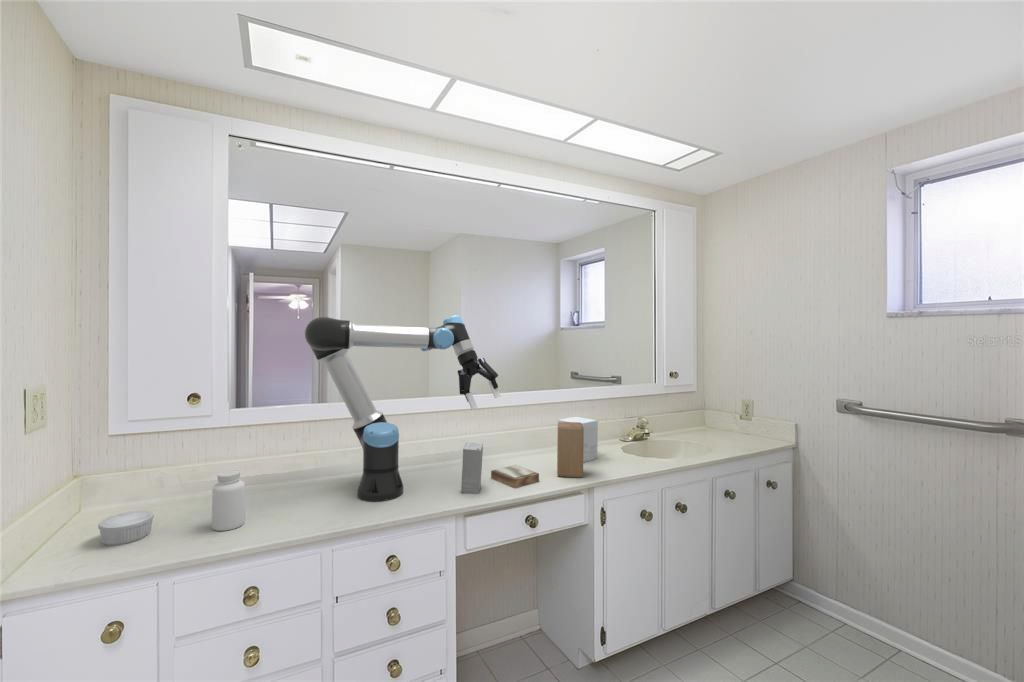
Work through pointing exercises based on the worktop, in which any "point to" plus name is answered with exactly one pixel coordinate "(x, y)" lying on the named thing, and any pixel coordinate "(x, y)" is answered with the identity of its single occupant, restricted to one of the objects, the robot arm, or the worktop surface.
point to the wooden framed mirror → (514, 476)
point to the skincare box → (471, 468)
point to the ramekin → (125, 527)
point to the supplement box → (587, 436)
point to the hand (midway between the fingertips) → (486, 403)
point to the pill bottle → (228, 501)
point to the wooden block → (570, 449)
